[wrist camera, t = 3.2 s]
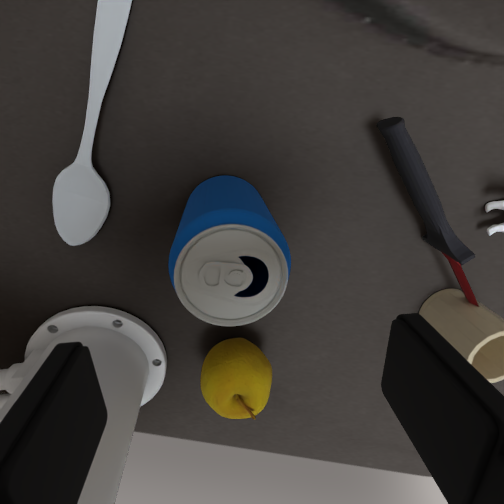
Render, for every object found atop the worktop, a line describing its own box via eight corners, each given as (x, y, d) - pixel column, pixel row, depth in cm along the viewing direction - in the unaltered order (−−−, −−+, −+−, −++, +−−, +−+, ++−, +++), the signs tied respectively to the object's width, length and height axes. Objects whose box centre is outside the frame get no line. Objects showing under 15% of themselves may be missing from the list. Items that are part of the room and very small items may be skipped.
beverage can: (258, 251, 28) (285, 335, 17) (184, 245, 27) (163, 331, 16) (268, 178, 26) (307, 222, 15) (188, 169, 25) (165, 209, 14)
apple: (269, 365, 33) (283, 434, 26) (208, 376, 33) (206, 449, 26) (261, 315, 31) (275, 376, 24) (196, 326, 31) (190, 391, 23)
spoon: (51, 232, 26) (41, 239, 24) (91, -82, 19) (80, -100, 17) (104, 246, 27) (98, 253, 25) (161, -49, 20) (156, -64, 18)
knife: (365, 127, 25) (398, 129, 20) (381, 115, 25) (419, 114, 20) (462, 324, 34) (501, 356, 29) (475, 316, 34) (516, 348, 29)
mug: (423, 290, 32) (475, 333, 25) (475, 286, 32) (539, 327, 26) (409, 356, 35) (452, 409, 29) (457, 351, 35) (510, 403, 29)
